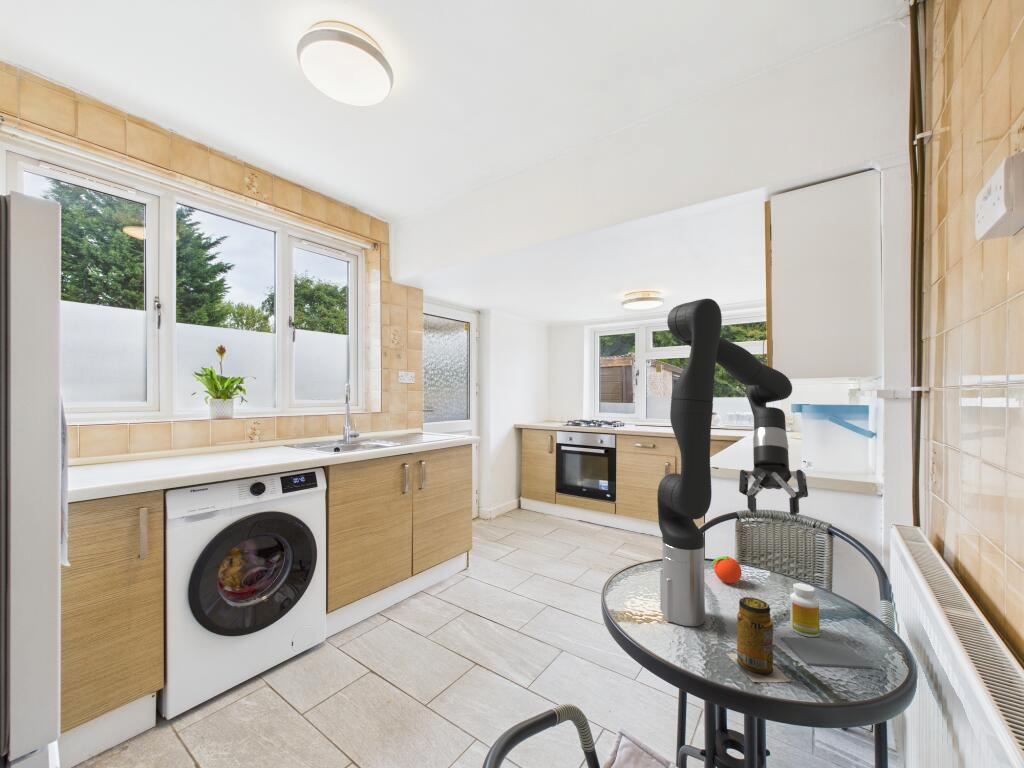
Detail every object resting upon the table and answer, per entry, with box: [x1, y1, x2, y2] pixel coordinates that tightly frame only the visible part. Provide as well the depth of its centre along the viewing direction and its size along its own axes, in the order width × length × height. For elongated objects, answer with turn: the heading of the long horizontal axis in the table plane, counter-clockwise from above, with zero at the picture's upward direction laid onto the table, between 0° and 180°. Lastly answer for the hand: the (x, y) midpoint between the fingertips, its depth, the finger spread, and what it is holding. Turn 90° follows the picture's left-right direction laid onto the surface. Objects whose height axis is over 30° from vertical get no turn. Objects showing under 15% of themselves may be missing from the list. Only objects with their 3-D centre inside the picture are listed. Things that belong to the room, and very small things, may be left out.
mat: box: [780, 636, 873, 669], centre depth 85 cm, size 12×9×1 cm
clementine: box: [710, 556, 742, 584], centre depth 118 cm, size 8×7×7 cm
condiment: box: [726, 596, 791, 684], centre depth 81 cm, size 7×8×12 cm
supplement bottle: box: [789, 582, 821, 638], centre depth 93 cm, size 5×5×10 cm
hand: (772, 513), depth 100 cm, fingers open, 8 cm apart
